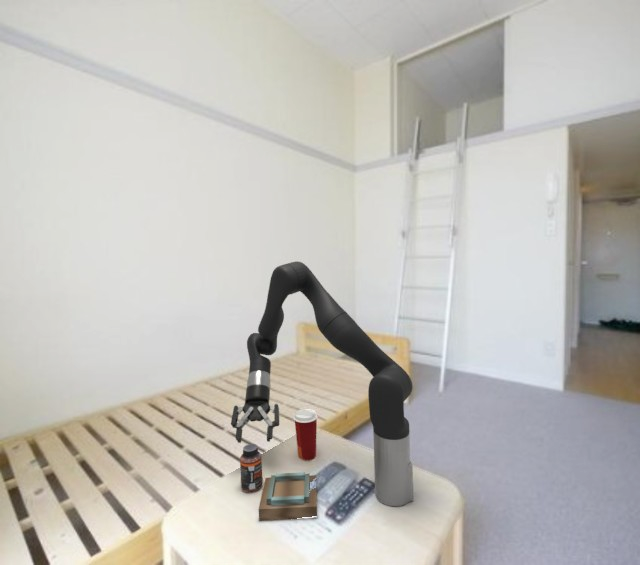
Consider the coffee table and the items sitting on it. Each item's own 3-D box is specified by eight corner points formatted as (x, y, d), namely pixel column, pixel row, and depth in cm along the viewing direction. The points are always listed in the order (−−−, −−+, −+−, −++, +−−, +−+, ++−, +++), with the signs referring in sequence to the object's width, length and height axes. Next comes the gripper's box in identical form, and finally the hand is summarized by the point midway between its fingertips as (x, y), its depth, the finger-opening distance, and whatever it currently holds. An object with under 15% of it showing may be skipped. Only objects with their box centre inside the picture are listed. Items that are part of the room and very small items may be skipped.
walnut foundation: (316, 485, 95) (316, 470, 95) (317, 518, 83) (316, 500, 83) (266, 488, 95) (265, 472, 94) (259, 521, 83) (258, 503, 82)
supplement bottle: (258, 494, 92) (256, 454, 91) (237, 492, 93) (235, 452, 92) (266, 480, 98) (264, 442, 97) (246, 478, 99) (244, 440, 98)
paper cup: (323, 452, 111) (322, 410, 110) (310, 465, 104) (308, 420, 103) (303, 446, 115) (302, 405, 114) (290, 458, 109) (288, 415, 108)
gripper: (233, 384, 108) (226, 438, 97) (279, 382, 108) (276, 436, 97) (238, 394, 113) (232, 446, 103) (281, 392, 114) (279, 444, 103)
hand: (253, 441), depth 100 cm, fingers open, 8 cm apart
